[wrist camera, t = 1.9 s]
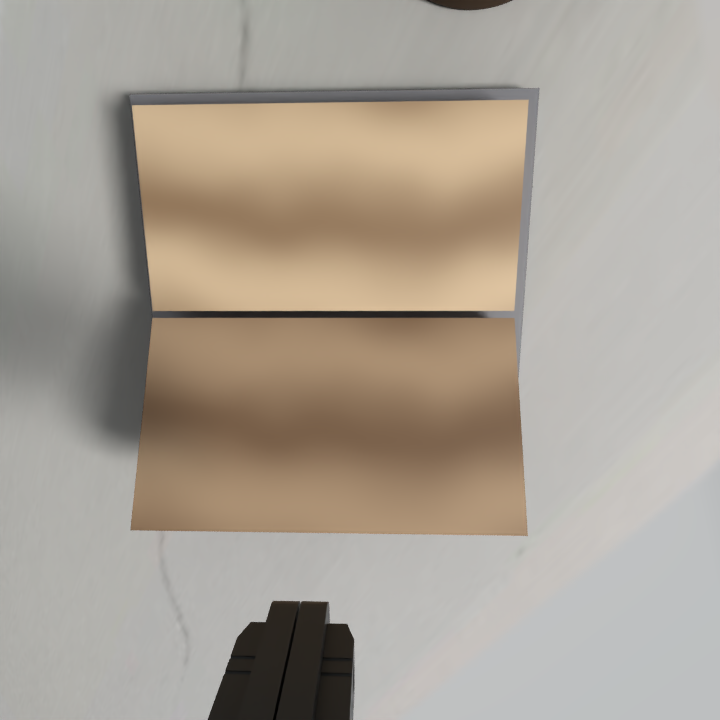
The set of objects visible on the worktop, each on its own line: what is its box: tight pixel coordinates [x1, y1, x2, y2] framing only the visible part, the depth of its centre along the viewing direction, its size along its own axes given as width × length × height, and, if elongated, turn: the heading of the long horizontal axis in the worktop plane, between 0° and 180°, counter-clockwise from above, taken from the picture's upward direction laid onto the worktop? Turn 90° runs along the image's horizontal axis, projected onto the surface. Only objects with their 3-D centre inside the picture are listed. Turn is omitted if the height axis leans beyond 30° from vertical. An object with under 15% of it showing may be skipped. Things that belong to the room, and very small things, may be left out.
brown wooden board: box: [131, 318, 528, 536], centre depth 21 cm, size 9×16×2 cm, turn 90°
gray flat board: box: [130, 88, 539, 377], centre depth 24 cm, size 20×18×1 cm
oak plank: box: [132, 100, 529, 311], centre depth 21 cm, size 8×16×2 cm, turn 90°
